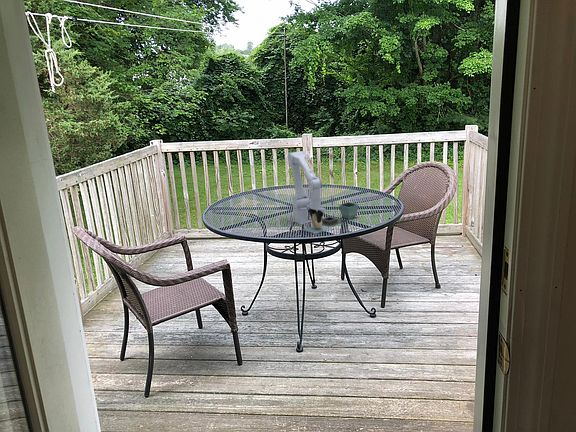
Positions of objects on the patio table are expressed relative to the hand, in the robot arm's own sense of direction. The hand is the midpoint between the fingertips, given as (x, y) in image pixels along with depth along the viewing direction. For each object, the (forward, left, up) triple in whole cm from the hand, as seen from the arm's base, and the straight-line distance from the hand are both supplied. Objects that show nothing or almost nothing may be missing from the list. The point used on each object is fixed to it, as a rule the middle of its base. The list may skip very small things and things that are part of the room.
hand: (316, 221), depth 271 cm
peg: (0, +1, -3) cm, 3 cm away
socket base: (-5, +15, -5) cm, 17 cm away
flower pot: (-2, +29, -5) cm, 30 cm away
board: (0, 0, -5) cm, 5 cm away
